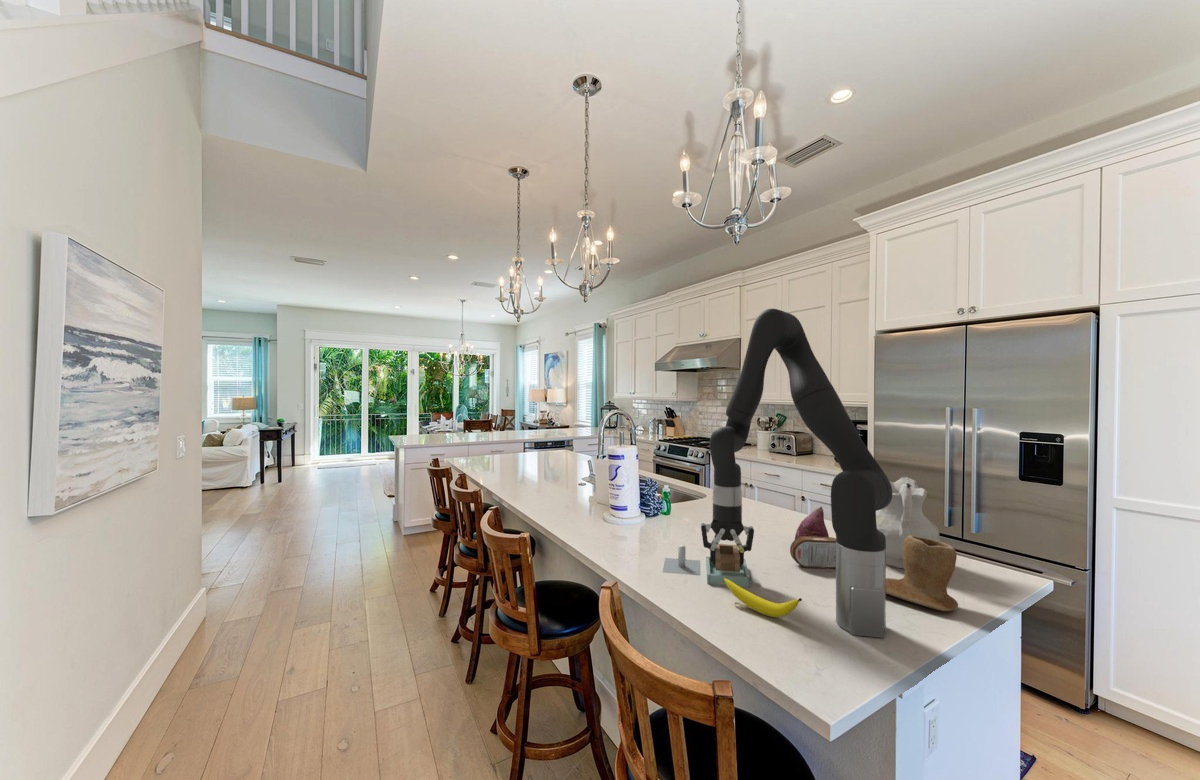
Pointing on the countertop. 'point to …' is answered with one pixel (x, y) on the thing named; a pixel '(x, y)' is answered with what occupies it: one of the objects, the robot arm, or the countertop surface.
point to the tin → (814, 552)
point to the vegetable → (813, 525)
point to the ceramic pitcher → (904, 519)
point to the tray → (727, 575)
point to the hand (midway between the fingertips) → (726, 564)
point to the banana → (761, 602)
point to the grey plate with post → (681, 564)
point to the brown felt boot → (925, 574)
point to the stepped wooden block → (727, 558)
